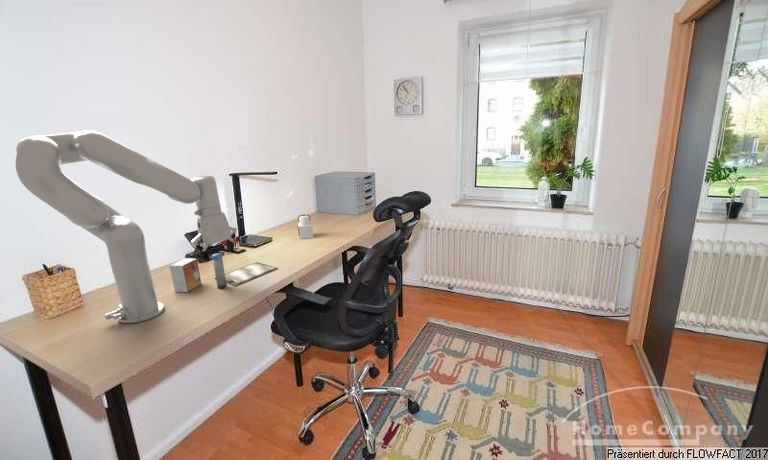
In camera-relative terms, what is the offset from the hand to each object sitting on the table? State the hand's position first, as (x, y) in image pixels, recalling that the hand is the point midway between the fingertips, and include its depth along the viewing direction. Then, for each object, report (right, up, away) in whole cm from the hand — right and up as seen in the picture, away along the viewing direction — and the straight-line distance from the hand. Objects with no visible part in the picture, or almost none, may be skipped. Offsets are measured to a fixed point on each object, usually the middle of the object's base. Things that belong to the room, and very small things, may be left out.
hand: (219, 256), depth 134 cm
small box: (-13, -12, +3) cm, 18 cm away
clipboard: (+5, -8, +15) cm, 18 cm away
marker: (0, -12, +3) cm, 12 cm away
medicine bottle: (+19, +6, +63) cm, 66 cm away
